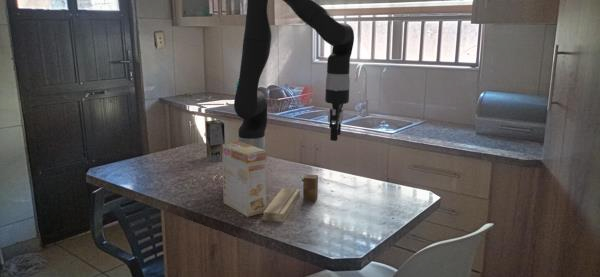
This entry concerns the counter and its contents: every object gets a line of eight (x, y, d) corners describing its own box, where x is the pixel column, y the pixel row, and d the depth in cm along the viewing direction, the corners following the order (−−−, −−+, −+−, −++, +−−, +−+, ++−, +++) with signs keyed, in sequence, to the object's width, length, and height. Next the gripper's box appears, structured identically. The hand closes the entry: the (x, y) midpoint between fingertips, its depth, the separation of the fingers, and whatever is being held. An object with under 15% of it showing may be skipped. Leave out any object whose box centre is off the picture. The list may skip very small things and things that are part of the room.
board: (263, 220, 140) (263, 211, 139) (282, 195, 161) (282, 187, 160) (283, 222, 139) (283, 213, 138) (299, 196, 160) (299, 189, 159)
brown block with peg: (300, 201, 156) (300, 177, 154) (303, 197, 159) (303, 174, 158) (315, 202, 155) (315, 178, 153) (317, 198, 158) (317, 175, 157)
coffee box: (225, 161, 202) (224, 123, 199) (210, 162, 200) (209, 124, 196) (221, 155, 211) (219, 119, 207) (206, 157, 208) (205, 120, 205)
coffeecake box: (267, 212, 146) (266, 150, 142) (247, 217, 142) (245, 153, 138) (242, 198, 158) (240, 140, 153) (222, 203, 153) (220, 143, 149)
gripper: (328, 84, 160) (327, 132, 163) (322, 89, 146) (320, 141, 150) (351, 85, 158) (349, 133, 162) (347, 91, 145) (344, 143, 148)
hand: (335, 137), depth 156 cm, fingers open, 8 cm apart
